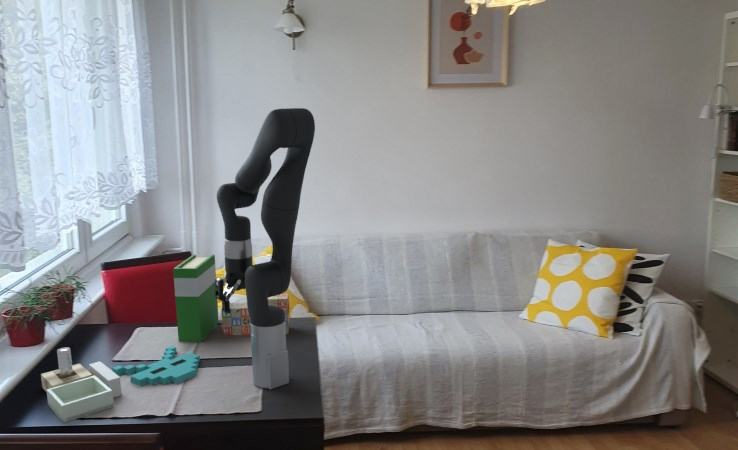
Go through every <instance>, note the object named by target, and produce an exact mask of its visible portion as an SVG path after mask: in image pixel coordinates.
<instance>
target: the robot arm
mask: <svg viewBox="0 0 738 450" xmlns="http://www.w3.org/2000/svg"><path fill="white" fill-rule="evenodd" d="M266 115H267V116H266V117H265V119H264V120H263V123H262V124H261V127H260V130H259V132H258V135H257V136H256V139H255V141H254V143H253V146H252V149H251V152H250V153H249V154H248V157H247V158H246V160H245V161H244V162H243V164H242V165H241V166H240V168H239V169H238V171H237V173H236V174H235V176H234V182H229V183H223V184H221V185H220V186H219V187H218V189H217V191H216V201H217V202H216V203H217V205H218V208H219V210H220V211H219V212H220V213H221V217H222V220H223V226H224V248H223V249H224V251H223V252H224V269H225V270H224V271H225V276H224V277H218V276H216V279H215V298H216V299H217V301H218V300H219V301H221V311H222V310H223V311H224V312H225V313H227V314H228V313H230V303H231V302H230V298H231V297H232V296H233V295H234V294H235V292H237V291H241V290H245V296H246V303H247V307H248V312H249V316H250V326H251V335H250V343H251V363H252V364H251V365H252V379H253V385H255V386H256V387H257V388H262V389H269V390H273V389H277V388H278V387H282V386H285V385H286V384H289V383H290V371H289V366H290V365H289V350H288V349H287V336H286V335H287V334H286V332H285V312H284V310H283V309H282V308H280V307H276V306H270V305H268V297H272V296H276V295H279V294H282V293H286V292H287V290H289V286H290V283H291V276H292V261H293V248H294V247H293V246H294V240H295V239H294V238H295V232H296V226H297V221H298V215H299V210H300V203H301V196H302V195H301V194H302V189H303V188H302V187H303V183H304V178H305V173H306V169H307V164H308V162H309V158H310V154H311V150H312V147H313V142H314V139H315V132H316V131H315V130H316V125H315V124H316V123H315V118H314V116H313V113H312V112H311V110H309V109H308V108H303V107H302V108H301V107H300V108H299V107H298V108H297V107H294V108H277V109H273V110H272V111H270V112H269V113H268V114H266ZM279 149H287V150H286V154H285V157H284V160H283V163H282V164H281V166H280V167H279V169H278V171H277V172H276V173H275V174H274V176H273V177H272V179H271V180H270V182H268V185H267V186H266V188H265V190H264V193H263V197H262V203H261V209H260V220H261V223H262V226H263V228H264V230H265V232H266V233H267V236H268V237H269V239H270V241H271V243H272V244H271V245H272V254H271V258H270V260H269V261H265V262H260V263H255V264H253V262H254V261H253V243H252V235H251V229H252V228H251V220H250V218H249V217H248V216H243V215H237V213H236V210H237V209H243V208H249V207H251V206H253V205H254V204H255V203H256V202H257V199H258V195H259V193H260V188H261V187H262V186H263V184H264V183H265V182H266V180H267V179H268V178H269V176H270V174H271V171H272V165H273V164H272V159H271V157H272V155H274V153H276V151H278V150H279Z"/></svg>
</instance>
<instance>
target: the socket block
mask: <svg viewBox="0 0 738 450" xmlns="http://www.w3.org/2000/svg"><path fill="white" fill-rule="evenodd" d="M72 369H73V376H70V377H67V378H63V379H60V372H59V368H58V369H55V370H51V371H47V372H43V373H40V378H41V379H40V381H41V388H42V389H43V390H44V391H45V392H46V393H47V389H50V388H53V387H57V386H60V385H64V384H67V383H71V382H74V381H78V380H81V379H85V378H88V377H91V376H92V374H91V373H90V370H88V369H86V368H85V367H84V366H83V365H82V364H81V363H76V364H72Z"/></svg>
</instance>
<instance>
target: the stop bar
mask: <svg viewBox="0 0 738 450" xmlns="http://www.w3.org/2000/svg"><path fill="white" fill-rule="evenodd" d="M88 367H89V372H90V373H91V374H92V376H96V377H97V378H98V379H99V380H101V381H102V382H103V383H104V384H105V385H106V386H108V387H109V388H110V389H111V390H112V394H113V399H114V398H117V397H120V396H122V394H123V393H122V384H121V376H120V375H117V374H115V373H114V372H113V371H112V369H111V368H109V367H108V366H107V365H105V364H104V363H103V362H101V361H95V362H93V363H89V365H88Z"/></svg>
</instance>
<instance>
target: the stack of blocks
mask: <svg viewBox="0 0 738 450" xmlns="http://www.w3.org/2000/svg"><path fill="white" fill-rule="evenodd" d="M289 295H290V294H289V293H286V292H284V293H282V294H279V295H276V296H272V297H268V305H270V306H276V307H280V308H282V309H283V310H284V312H285V332H286V335H289V333H290V325H291V324H290V298H289V297H290V296H289ZM221 319H222V321H221V322H222V336H251V326H250V316H249V312H248V307H247V302H230V313H228V314H227V313H225V312H224V311H223V310H222V309H221Z"/></svg>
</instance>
